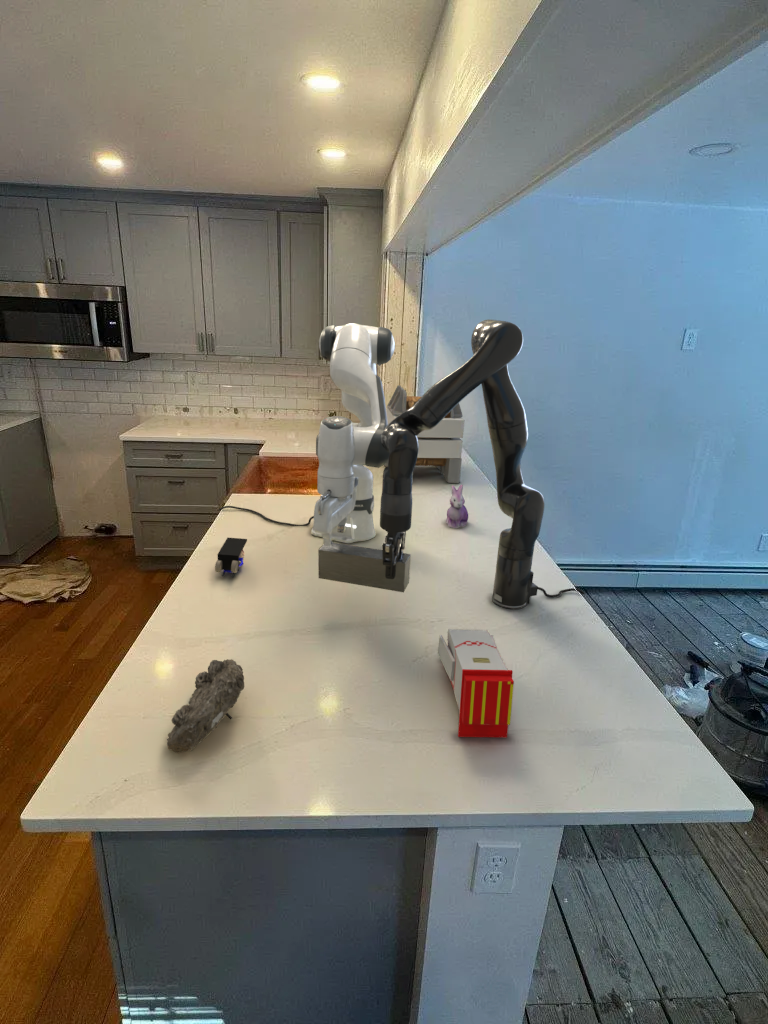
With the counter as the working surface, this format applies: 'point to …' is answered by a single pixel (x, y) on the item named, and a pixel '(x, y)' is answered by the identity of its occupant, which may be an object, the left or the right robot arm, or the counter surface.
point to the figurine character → (230, 556)
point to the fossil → (206, 705)
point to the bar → (361, 567)
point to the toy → (478, 682)
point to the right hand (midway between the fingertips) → (393, 572)
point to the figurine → (457, 509)
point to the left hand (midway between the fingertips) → (334, 538)
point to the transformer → (434, 437)
